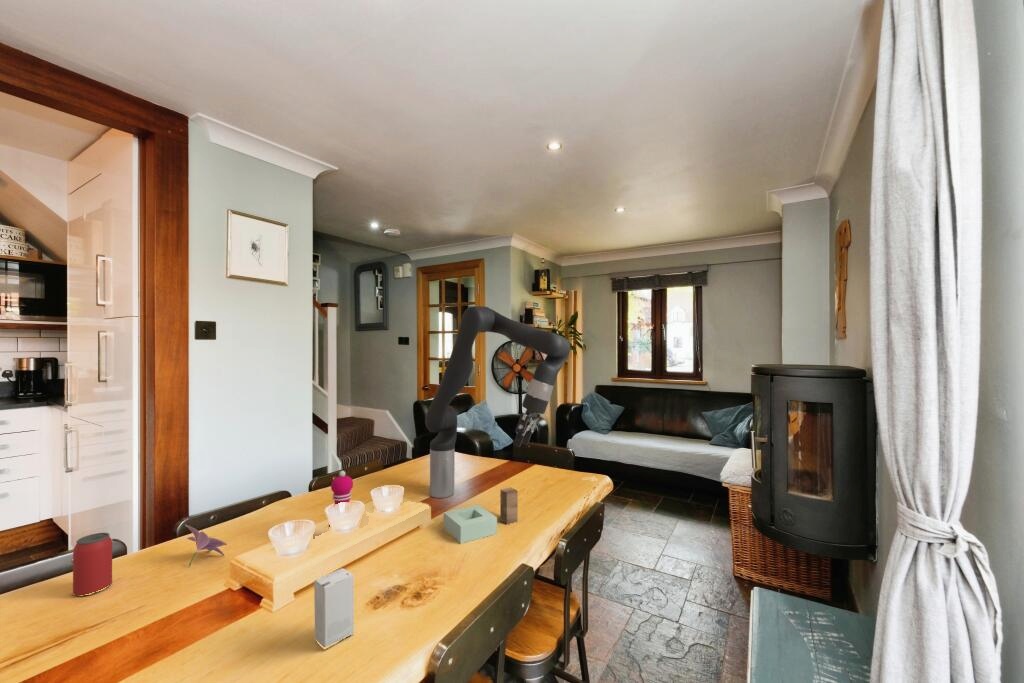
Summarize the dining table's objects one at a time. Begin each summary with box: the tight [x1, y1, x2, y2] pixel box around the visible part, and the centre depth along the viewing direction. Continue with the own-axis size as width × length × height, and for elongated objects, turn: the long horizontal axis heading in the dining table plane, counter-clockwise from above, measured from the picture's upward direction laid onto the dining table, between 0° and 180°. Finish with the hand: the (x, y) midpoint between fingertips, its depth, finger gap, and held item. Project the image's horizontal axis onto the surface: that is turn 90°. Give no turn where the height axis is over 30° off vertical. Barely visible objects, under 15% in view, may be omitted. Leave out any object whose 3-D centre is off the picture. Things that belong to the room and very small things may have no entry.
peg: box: [499, 487, 519, 525], centre depth 139 cm, size 4×4×10 cm
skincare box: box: [313, 568, 355, 647], centre depth 83 cm, size 6×4×12 cm
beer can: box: [72, 532, 113, 596], centre depth 100 cm, size 7×7×12 cm
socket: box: [443, 504, 498, 544], centre depth 131 cm, size 12×12×5 cm
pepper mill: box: [328, 470, 354, 528], centre depth 126 cm, size 7×7×20 cm
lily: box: [184, 524, 228, 567], centre depth 114 cm, size 12×12×10 cm
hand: (520, 444), depth 134 cm, fingers open, 8 cm apart
